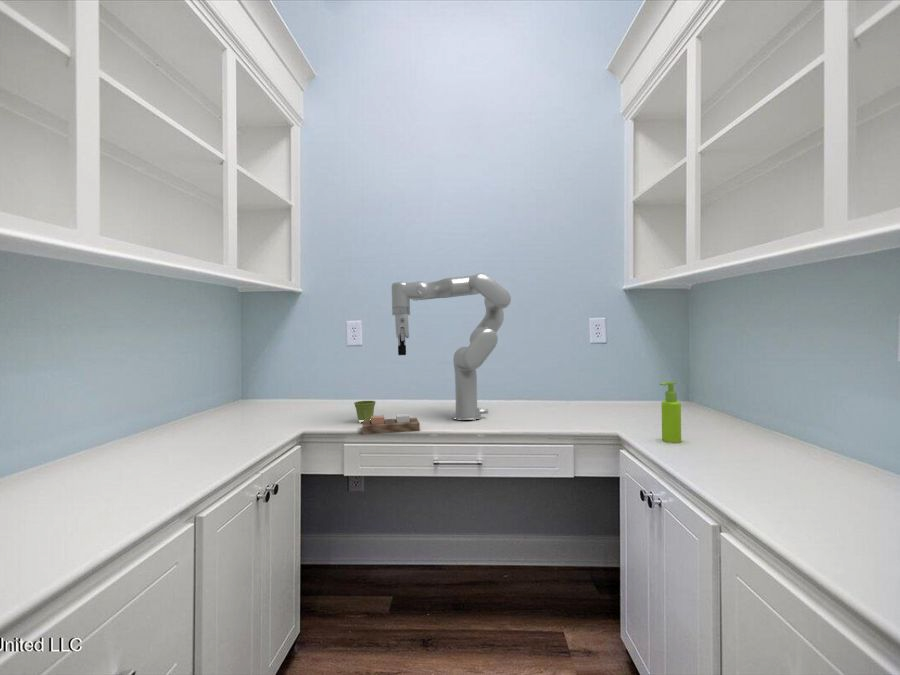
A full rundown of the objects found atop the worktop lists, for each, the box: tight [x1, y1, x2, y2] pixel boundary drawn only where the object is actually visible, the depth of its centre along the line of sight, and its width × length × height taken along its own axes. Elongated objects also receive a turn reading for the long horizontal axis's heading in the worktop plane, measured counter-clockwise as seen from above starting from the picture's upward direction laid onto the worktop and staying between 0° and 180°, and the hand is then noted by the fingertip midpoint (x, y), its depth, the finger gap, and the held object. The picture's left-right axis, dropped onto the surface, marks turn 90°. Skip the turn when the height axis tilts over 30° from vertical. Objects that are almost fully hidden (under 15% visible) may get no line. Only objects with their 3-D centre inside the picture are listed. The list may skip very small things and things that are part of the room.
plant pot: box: [353, 400, 377, 420], centre depth 199 cm, size 9×9×9 cm
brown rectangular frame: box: [361, 417, 421, 435], centre depth 183 cm, size 22×12×3 cm, turn 100°
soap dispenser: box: [659, 381, 682, 444], centre depth 155 cm, size 6×7×20 cm
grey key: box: [395, 413, 411, 423], centre depth 184 cm, size 5×5×4 cm
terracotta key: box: [371, 414, 385, 424], centre depth 182 cm, size 5×5×4 cm
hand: (402, 355), depth 194 cm, fingers closed
